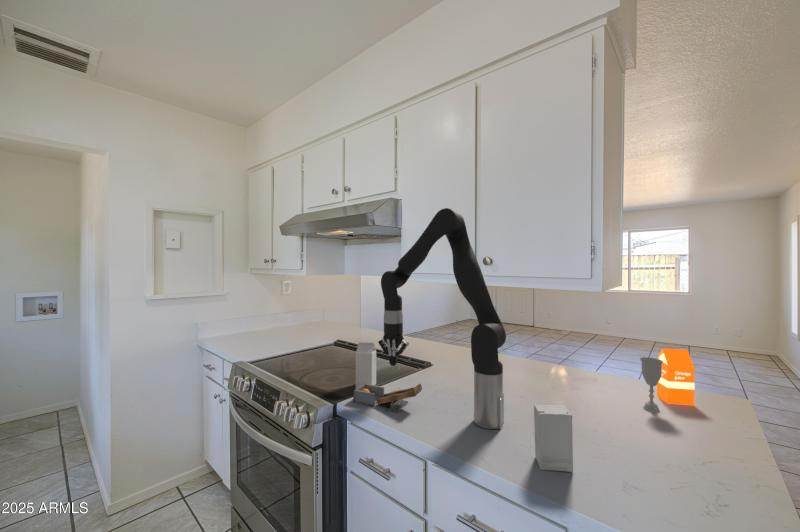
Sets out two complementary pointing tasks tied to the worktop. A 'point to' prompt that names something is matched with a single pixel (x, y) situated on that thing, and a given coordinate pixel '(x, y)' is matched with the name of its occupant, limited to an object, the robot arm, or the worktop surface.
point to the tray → (368, 394)
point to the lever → (400, 394)
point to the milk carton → (365, 364)
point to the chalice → (651, 379)
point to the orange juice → (676, 377)
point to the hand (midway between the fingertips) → (393, 365)
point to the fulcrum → (396, 405)
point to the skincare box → (553, 437)
